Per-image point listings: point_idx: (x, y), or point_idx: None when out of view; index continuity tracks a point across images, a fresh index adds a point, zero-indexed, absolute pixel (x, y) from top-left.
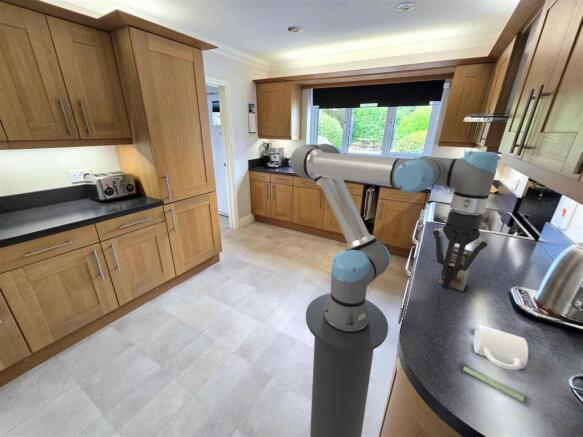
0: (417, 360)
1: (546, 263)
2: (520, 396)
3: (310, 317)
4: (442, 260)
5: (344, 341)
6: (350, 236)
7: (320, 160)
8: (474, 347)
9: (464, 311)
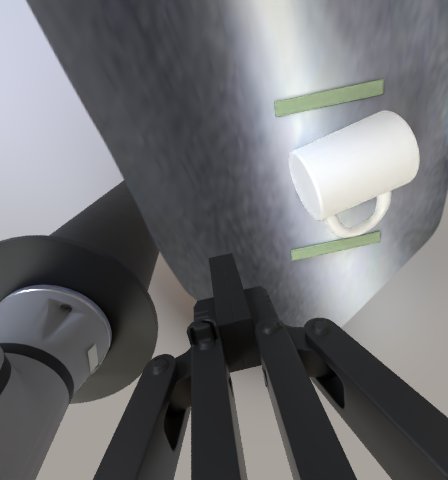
0: None
1: None
2: (375, 235)
3: None
4: (189, 405)
5: (117, 375)
6: None
7: None
8: (293, 182)
9: (221, 6)
